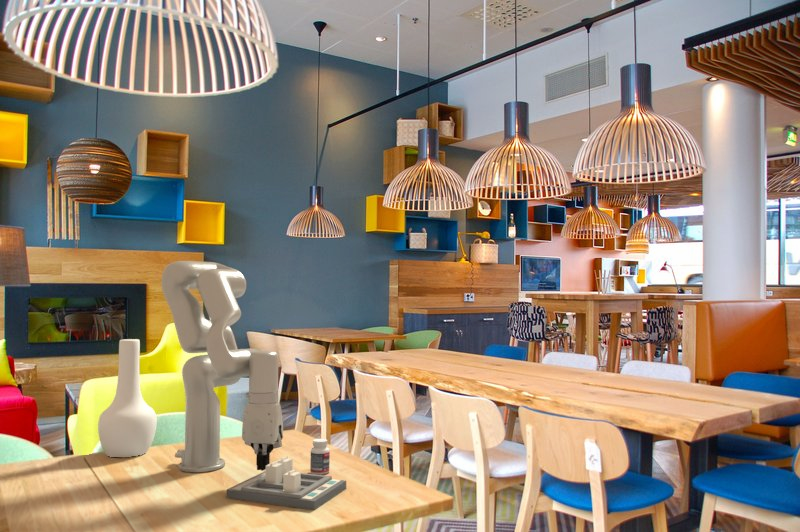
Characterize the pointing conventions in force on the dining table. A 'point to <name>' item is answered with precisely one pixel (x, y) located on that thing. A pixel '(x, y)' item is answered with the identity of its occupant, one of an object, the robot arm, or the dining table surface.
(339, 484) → the switch bank
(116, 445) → the vase
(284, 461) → the tab
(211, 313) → the robot arm
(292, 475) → the tab
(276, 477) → the tab
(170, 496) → the dining table surface
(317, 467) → the pill bottle
